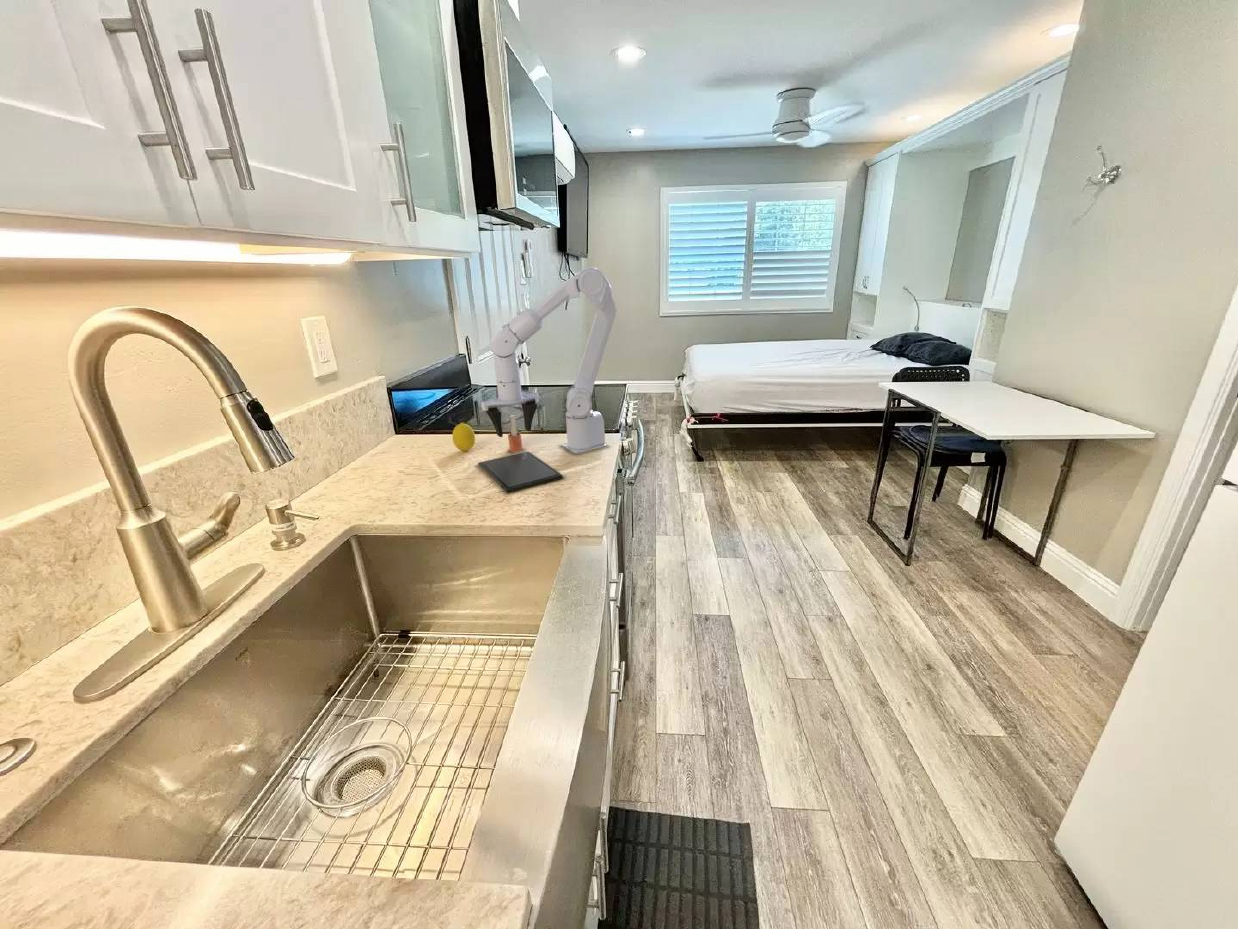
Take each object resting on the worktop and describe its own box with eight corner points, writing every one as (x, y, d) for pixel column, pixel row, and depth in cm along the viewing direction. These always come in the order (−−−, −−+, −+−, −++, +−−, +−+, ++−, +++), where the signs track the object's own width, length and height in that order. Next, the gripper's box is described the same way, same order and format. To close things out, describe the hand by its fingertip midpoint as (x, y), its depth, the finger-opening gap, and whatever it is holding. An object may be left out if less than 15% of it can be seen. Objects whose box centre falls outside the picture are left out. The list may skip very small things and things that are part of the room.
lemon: (470, 456, 124) (466, 426, 121) (451, 455, 125) (446, 425, 122) (480, 449, 129) (476, 420, 126) (461, 448, 130) (457, 419, 127)
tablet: (528, 454, 125) (528, 450, 124) (562, 478, 110) (562, 474, 109) (478, 466, 118) (478, 462, 118) (507, 493, 103) (507, 489, 103)
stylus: (517, 447, 128) (513, 414, 125) (519, 449, 127) (515, 415, 124) (512, 448, 128) (508, 415, 124) (514, 450, 126) (510, 416, 123)
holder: (519, 447, 130) (517, 431, 128) (524, 451, 127) (522, 434, 125) (508, 450, 128) (506, 434, 126) (512, 453, 125) (510, 437, 124)
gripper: (529, 374, 127) (533, 424, 132) (474, 381, 120) (481, 434, 125) (540, 378, 122) (545, 430, 127) (483, 387, 115) (491, 441, 120)
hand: (514, 433), depth 126 cm, fingers open, 7 cm apart
